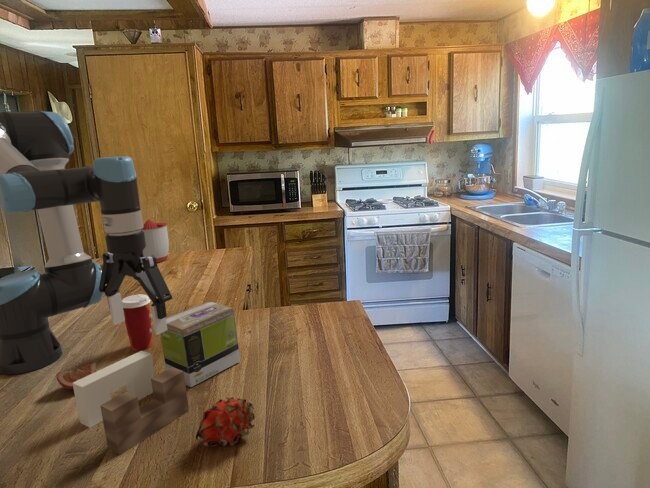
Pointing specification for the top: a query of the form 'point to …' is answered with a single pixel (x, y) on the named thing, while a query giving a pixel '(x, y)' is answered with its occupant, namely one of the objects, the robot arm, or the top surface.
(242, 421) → the dragon fruit
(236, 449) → the top surface
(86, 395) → the cream slotted plate
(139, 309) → the paper cup
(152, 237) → the citrus juicer
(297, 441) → the top surface
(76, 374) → the fruit slice
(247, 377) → the top surface
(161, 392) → the walnut slotted plate
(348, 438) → the top surface
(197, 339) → the tea box
